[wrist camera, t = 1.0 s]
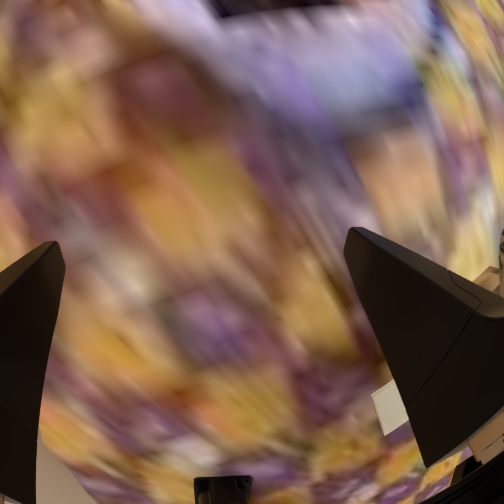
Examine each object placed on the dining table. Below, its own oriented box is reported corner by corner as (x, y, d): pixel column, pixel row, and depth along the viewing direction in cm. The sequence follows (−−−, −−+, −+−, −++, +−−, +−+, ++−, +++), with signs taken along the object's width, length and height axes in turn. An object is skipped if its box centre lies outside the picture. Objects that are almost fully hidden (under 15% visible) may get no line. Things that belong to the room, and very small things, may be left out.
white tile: (382, 433, 32) (384, 435, 32) (370, 394, 30) (372, 397, 30) (432, 397, 33) (434, 399, 32) (425, 355, 31) (428, 357, 30)
